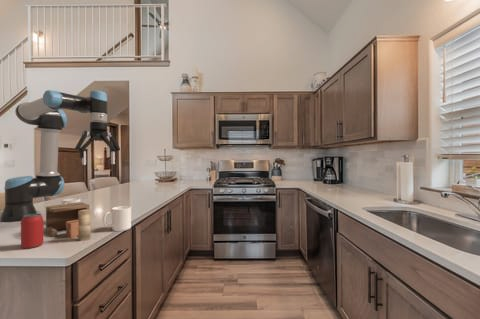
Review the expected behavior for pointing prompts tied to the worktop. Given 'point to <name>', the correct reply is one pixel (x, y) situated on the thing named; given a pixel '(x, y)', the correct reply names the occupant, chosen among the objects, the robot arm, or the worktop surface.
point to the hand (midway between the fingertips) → (99, 164)
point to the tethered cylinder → (79, 226)
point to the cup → (119, 218)
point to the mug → (71, 201)
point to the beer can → (31, 231)
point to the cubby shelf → (62, 216)
